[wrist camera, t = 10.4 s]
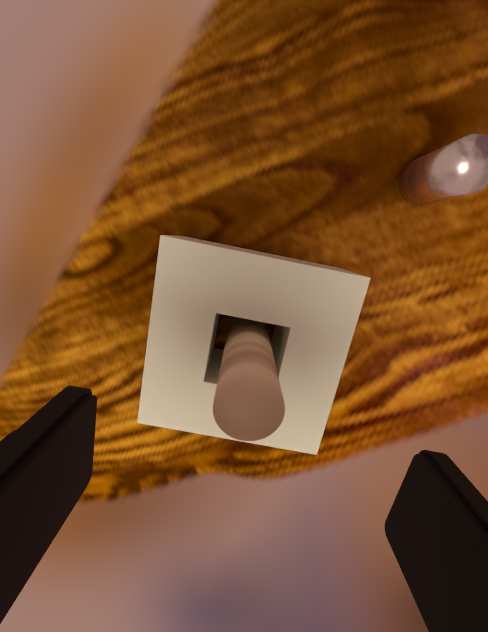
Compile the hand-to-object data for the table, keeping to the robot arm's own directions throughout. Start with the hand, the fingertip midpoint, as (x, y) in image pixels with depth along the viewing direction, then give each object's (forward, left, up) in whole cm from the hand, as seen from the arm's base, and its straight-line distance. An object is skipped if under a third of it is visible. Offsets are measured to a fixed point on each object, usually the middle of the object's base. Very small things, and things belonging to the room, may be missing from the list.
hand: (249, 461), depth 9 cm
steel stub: (-12, +10, -16) cm, 22 cm away
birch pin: (+1, 0, -16) cm, 16 cm away
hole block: (+1, 0, -16) cm, 16 cm away
